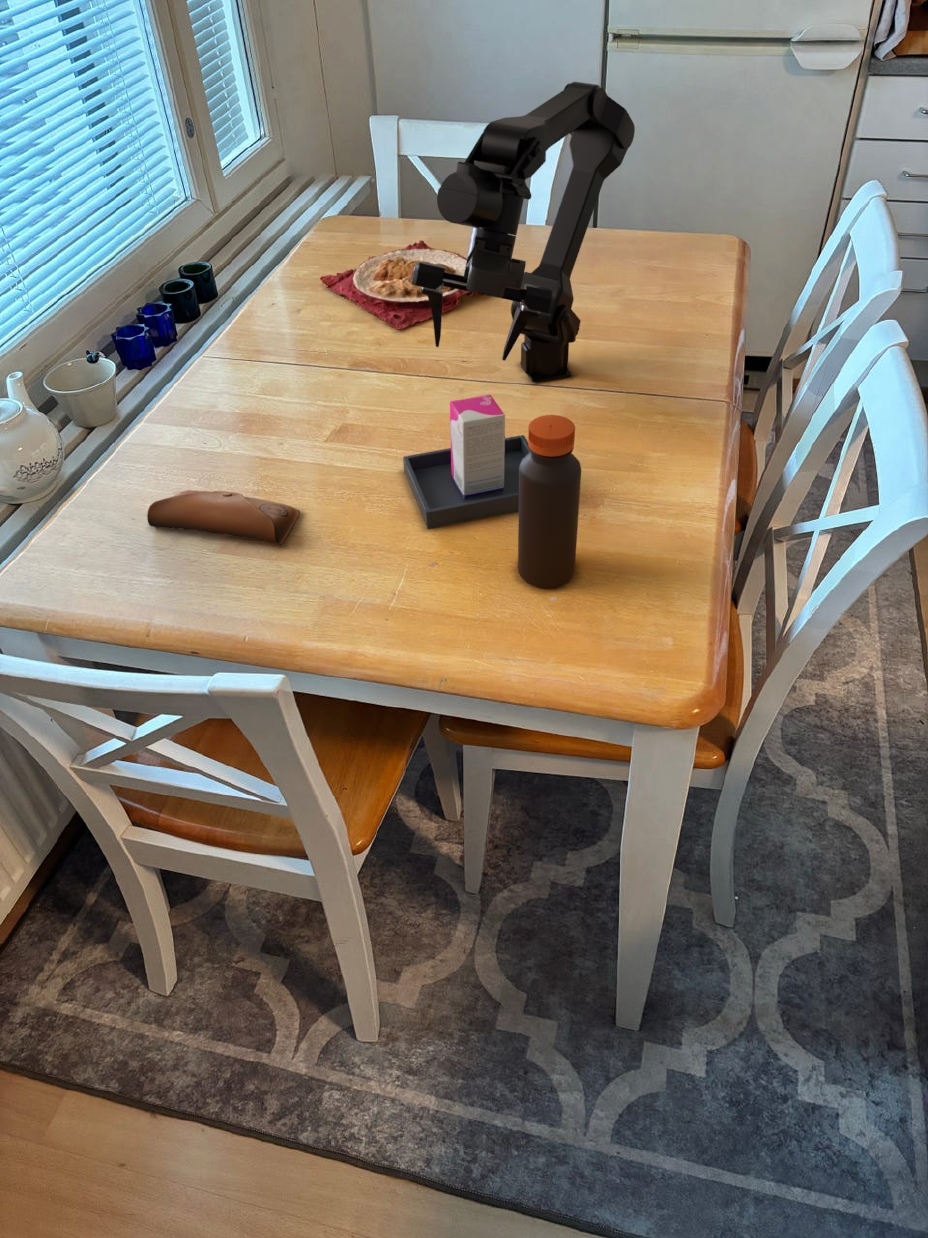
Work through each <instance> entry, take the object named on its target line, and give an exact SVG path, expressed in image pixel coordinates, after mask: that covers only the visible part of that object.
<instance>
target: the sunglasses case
mask: <svg viewBox="0 0 928 1238" xmlns="http://www.w3.org/2000/svg"><path fill="white" fill-rule="evenodd" d="M300 514H301V512H300V510H299V509H298V508H296V507H293V506H291V505H288V504H284V503H281V502H277V501H271V500H267V499H262V498H257V497H250V496H244V495H243V494H242V493H240V492H234V491H233V492H232V491H227V490H213V491H212V490H211V491H210V490H209V491H208V490H196V489H195V490H194V489H193V490H192V489H191V490H190V489H188V490H184V491H180V493H178V494H176V495H174V496H171V497H166V498H163V499H159V500H155V501H154V502H152V503H151V504H150V505H149V506H148V509H147V515H146V518H147V523H148V526H150V527H153V528H162V529H174V530H184V531H198V532H203V533H209V534H214V535H225V536H231V537H236V538H243V539H249V540H255V541H261V542H267V543H273V544H274V543H275V544H276V543H277V544H279V545H283V544H284V543H285V541H286V540H287V538H288V537H289V536H290V533H292V532H291V531H293V528H294V527H295V524H296V522H297V521H298V519H299V517H300Z"/></svg>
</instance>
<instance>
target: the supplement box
mask: <svg viewBox="0 0 928 1238" xmlns="http://www.w3.org/2000/svg"><path fill="white" fill-rule="evenodd" d="M449 424H450V425H449V426H450V427H449V428H450V430H449V431H450V448H451V476H452V479H453V481H454V482H455V484H456V486H457V488H458V490H459V491H460V493H461V495H462V497H463V498H464V499H467V498H472V497H476V496H481V495H486V494H491V493H496V492H500V491H503V490H504V455H505V438H506V415H505V412H504V411H503V410H502V408H501V407H500V406H499V404H498V403H497V401H496V400H495V399H494V397H493V396H492V394H485V395H479V396H475V397H469V398H463V399H456V400H451V401H449Z"/></svg>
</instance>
